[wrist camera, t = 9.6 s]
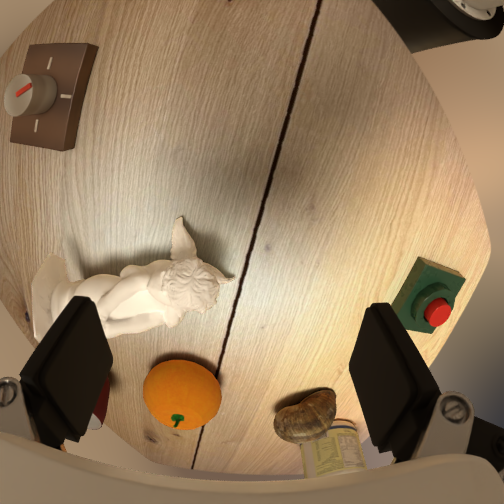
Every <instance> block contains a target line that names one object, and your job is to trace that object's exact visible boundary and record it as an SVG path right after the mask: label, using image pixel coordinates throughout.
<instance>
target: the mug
mask: <svg viewBox="0 0 504 504" xmlns="http://www.w3.org/2000/svg"><path fill="white" fill-rule="evenodd" d="M109 392H110V384H109V379H108V376H107V379H106V381H105V383H104V386H103V388H102V391H101V393H100V396H99V398H98V401H97V403H96V406H95V409H94V411H93V414H92V416H91V419H90V422H89V425H88V427H87V429H92V430H97V429H100V428H101V427H102V424H103V422H104V419H105V416H106V412H107V406H108V399H109Z"/></svg>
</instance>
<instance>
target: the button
mask: <svg viewBox="0 0 504 504" xmlns="http://www.w3.org/2000/svg"><path fill="white" fill-rule="evenodd" d="M450 314H451V307H450V306H449V305H448V303H447V302H446V301H445V300H444V299H443V298H437V299H434V300H433V301H432V302H431V303H429V304H428V306H427V307H426V309H425V311H424V316H425V318H426V319H427V321H428V322H429V323H430V325H431V326H433V327H437V326H440V325H442V324H443V323H444V322H446V320H447V319H448V318H449V316H450Z"/></svg>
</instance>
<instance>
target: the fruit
mask: <svg viewBox="0 0 504 504" xmlns="http://www.w3.org/2000/svg"><path fill="white" fill-rule="evenodd" d="M143 398H144V401H145V403H146V405H147V407H148V409H149V411H150V412H151V414H152V415H153V416H154V417H155V418H156V419H157V420H158V421H159V422H161V423H163V424H164V425H166V426H169V427H171V428H175V429H180V430H190V429H195V428H198V427H200V426H203V425H205V424H206V423H208V422H209V421H210V420H211V419H212V418H213V417H214V416H215V415H216V414H217V412H218V410H219V407H220V404H221V400H222V395H221V390H220V386H219V383H218V381H217V380H216V378H215V377H214V375H213V374H212V373H211V372H210V371H208V370H207V369H206V368H204V367H203V366H201V365H199V364H196V363H194V362H190V361H186V360H170V361H166V362H162V363H160V364H158V365H157V366H155V367H154V368H152V369H151V371H150V372H149V374H148V375H147V377H146V378H145V381H144V385H143Z"/></svg>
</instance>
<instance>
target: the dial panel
mask: <svg viewBox="0 0 504 504" xmlns="http://www.w3.org/2000/svg"><path fill="white" fill-rule="evenodd" d="M97 49H98V47H97V46H94V45H92V44H89V43H52V44H35V45H30V46H29V49H28V52H27V56H26V59H25V63H24V67H23V71H22V74H36V75H48V76H51V77H52V78H53V79H54V80H55V82H56V85H57V95H56V98H55V101H54V103H53V105H52V106H51V107H50V109H48V110H47V111H46V112H44V113H41V114H33V115H25V116H17V117H13V121H12V129H11V137H10V142H12V143H18V144H24V145H30V146H36V147H42V148H47V149H53V150H58V151H66V150H69V149H73V148H74V145H75V139H76V134H77V128H78V123H79V118H80V113H81V108H82V104H83V99H84V95H85V91H86V87H87V83H88V79H89V76H90V72H91V69H92V65H93V62H94V59H95V55H96V52H97Z"/></svg>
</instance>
